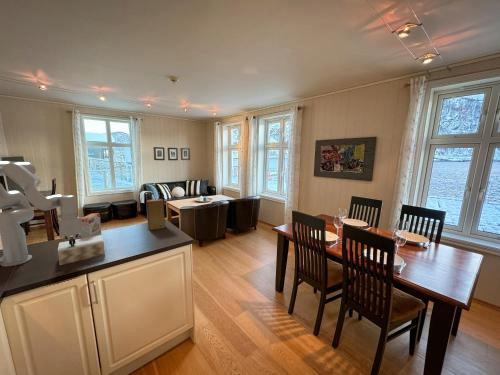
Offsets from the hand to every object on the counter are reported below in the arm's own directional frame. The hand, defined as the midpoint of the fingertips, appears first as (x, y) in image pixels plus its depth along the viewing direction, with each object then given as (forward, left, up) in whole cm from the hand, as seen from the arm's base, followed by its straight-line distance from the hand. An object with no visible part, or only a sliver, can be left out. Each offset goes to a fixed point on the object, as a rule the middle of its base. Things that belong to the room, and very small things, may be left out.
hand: (72, 245), depth 131 cm
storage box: (+4, +3, -9) cm, 11 cm away
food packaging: (+56, +30, -9) cm, 65 cm away
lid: (+4, +3, -1) cm, 5 cm away
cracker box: (+10, +22, -10) cm, 26 cm away
